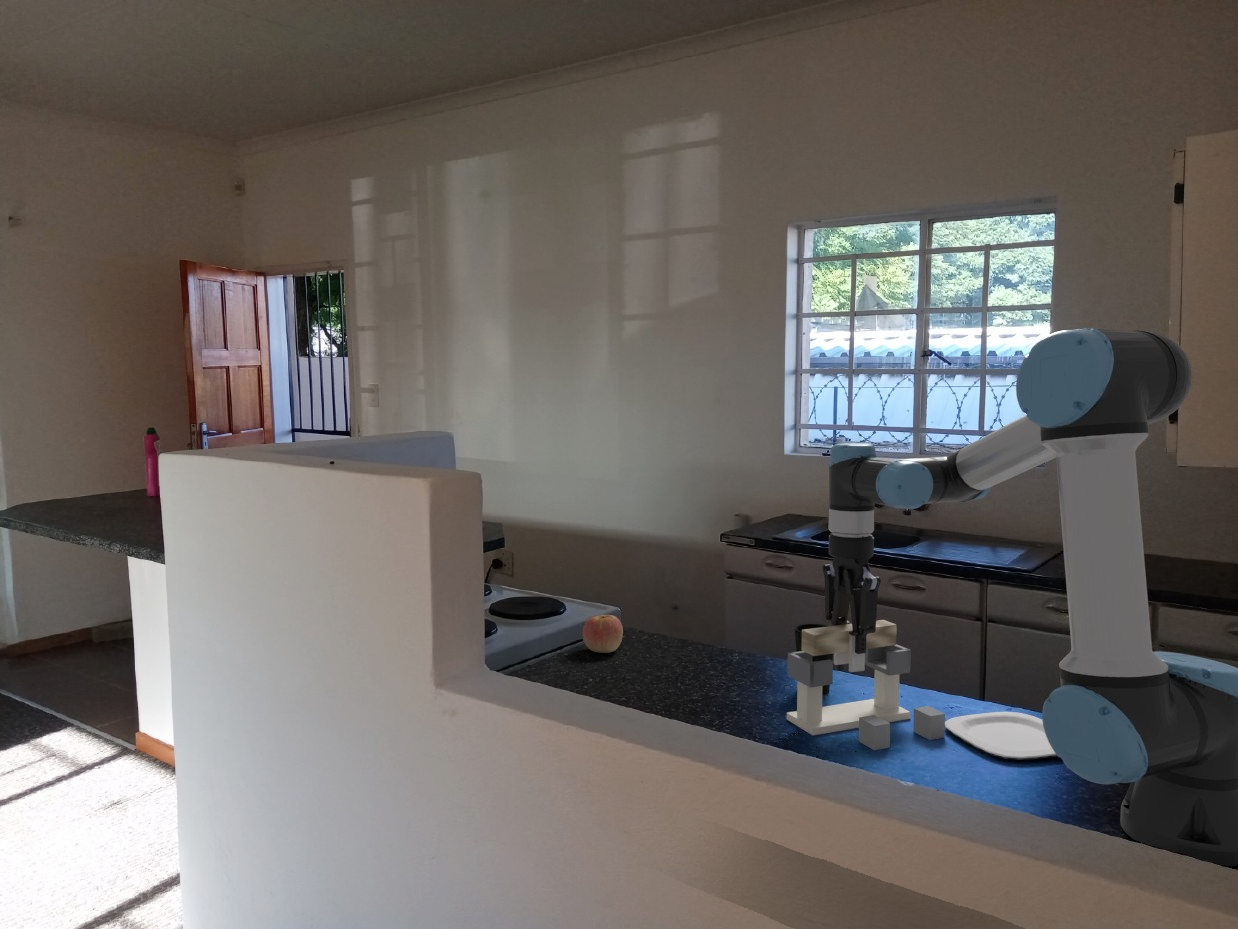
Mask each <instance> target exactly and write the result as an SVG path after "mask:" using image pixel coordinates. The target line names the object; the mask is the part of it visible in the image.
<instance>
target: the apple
mask: <svg viewBox="0 0 1238 929" xmlns="http://www.w3.org/2000/svg"><path fill="white" fill-rule="evenodd" d="M623 634H624V629H623V625H622V622H621V620H620V619H619V618H618V617H617V616H615V615H612V614H599V615H595V616H592V617H590V618H588V619H587V620H586V621H585V623H584V625H583V628H582V640H583V642H584V644H585V646H586V647H587V648H588V649H589V650H590V651H592V652H594V653H600V654H609V653H612V652H615V651H616V650H617V649H618V648H619V646H620V645H621V643H622V640H623Z"/></svg>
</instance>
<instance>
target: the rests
mask: <svg viewBox="0 0 1238 929" xmlns="http://www.w3.org/2000/svg"><path fill="white" fill-rule="evenodd" d="M945 721H946V713H944V712H942V711H939V710H938V709H936V708H934V707H931V706H929V705H925V706H921V707H920V706H919V707H914V708H913V731H912V732H914V733H916V734H918V735H919V736H921V737H923V738H926V739H927V740H929V741H933V740H937V739H942V738H945V731H946V727H945ZM858 742H860V743H861V744H863V745H864V746H866V747H868V748H870V749H871V750H873V751H878V750H884V749H890V748H891V747H890V744H891V722H887V721H885V720H883V719H881V718H879V717H877V716H875V715H871V716H865V717H859V728H858Z"/></svg>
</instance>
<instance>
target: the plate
mask: <svg viewBox="0 0 1238 929" xmlns="http://www.w3.org/2000/svg"><path fill="white" fill-rule="evenodd" d="M945 730H947V731H948V732H950V733H951V734H952V735H953V736H955V737H957V738H959V739H960V740H962V741H963V742H965V743H967V744H968V745H970V746H972V747H974V748H976V749H977V750H979V751H981V752H984V753H986V754H988V755H989V756H990V755H991V756H993V757H997V758H1001V759H1004V760H1005V759H1007V760H1017V761H1023V760H1024V761H1026V760H1039V759H1047V758H1053V757H1058V756H1057V755H1056V753H1055V752H1054V750H1053V749H1052V747H1051V745H1050V743H1049V741H1048V739H1047V737H1046V734H1045V731H1044V727H1043V721H1042V718H1039V717H1037V716H1034V715H1030V714H1027V713H1024V712H1023V713H1022V712H1017V711H1016V712H1014V711H994V712H993V711H992V712H984V713H983V712H982V713H975V714H974V713H973V714H968V715H961V716H955V717H952V718H949V719H947V720H945Z"/></svg>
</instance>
